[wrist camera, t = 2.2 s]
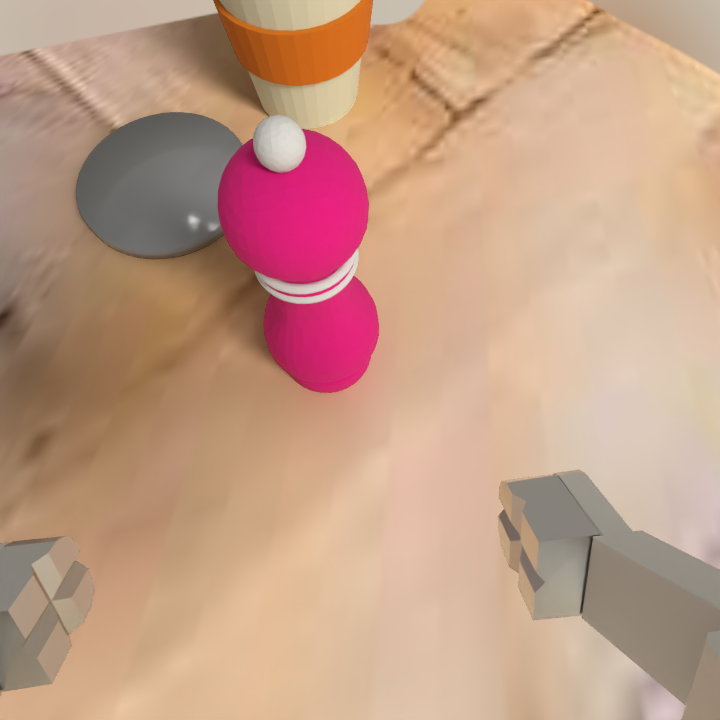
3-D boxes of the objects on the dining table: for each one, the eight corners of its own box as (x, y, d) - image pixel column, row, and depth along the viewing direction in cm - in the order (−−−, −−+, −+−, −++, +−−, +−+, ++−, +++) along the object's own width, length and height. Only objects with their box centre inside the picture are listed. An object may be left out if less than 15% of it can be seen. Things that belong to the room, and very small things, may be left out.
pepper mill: (277, 310, 35) (170, 51, 16) (374, 303, 35) (378, 37, 16) (277, 403, 32) (151, 224, 14) (382, 396, 32) (397, 207, 14)
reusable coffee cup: (402, 72, 43) (417, -150, 29) (331, 165, 40) (309, -37, 26) (289, 27, 46) (252, -198, 32) (212, 112, 42) (133, -100, 28)
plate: (49, 218, 38) (39, 209, 37) (150, 103, 43) (144, 92, 41) (190, 286, 36) (184, 278, 35) (283, 157, 40) (280, 146, 39)
